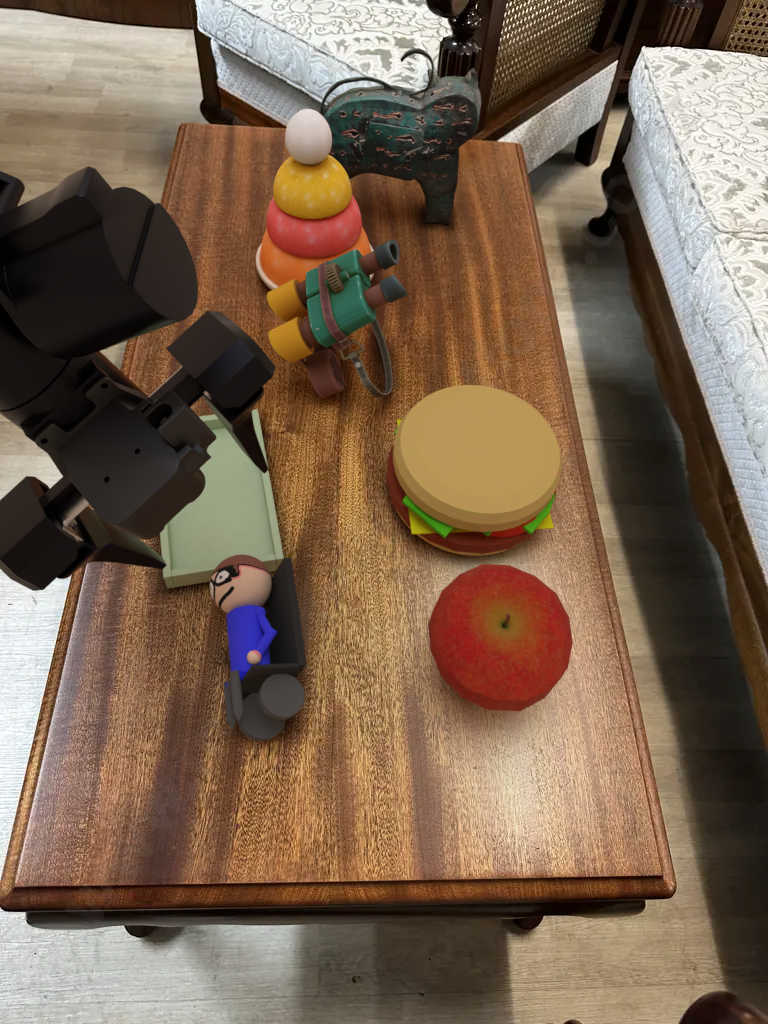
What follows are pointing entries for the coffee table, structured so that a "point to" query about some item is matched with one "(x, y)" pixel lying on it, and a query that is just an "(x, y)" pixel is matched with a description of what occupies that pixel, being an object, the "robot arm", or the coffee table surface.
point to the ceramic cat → (406, 132)
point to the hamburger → (474, 470)
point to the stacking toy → (309, 207)
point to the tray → (223, 514)
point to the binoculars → (335, 316)
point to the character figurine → (260, 644)
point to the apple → (500, 637)
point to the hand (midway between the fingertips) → (213, 515)
